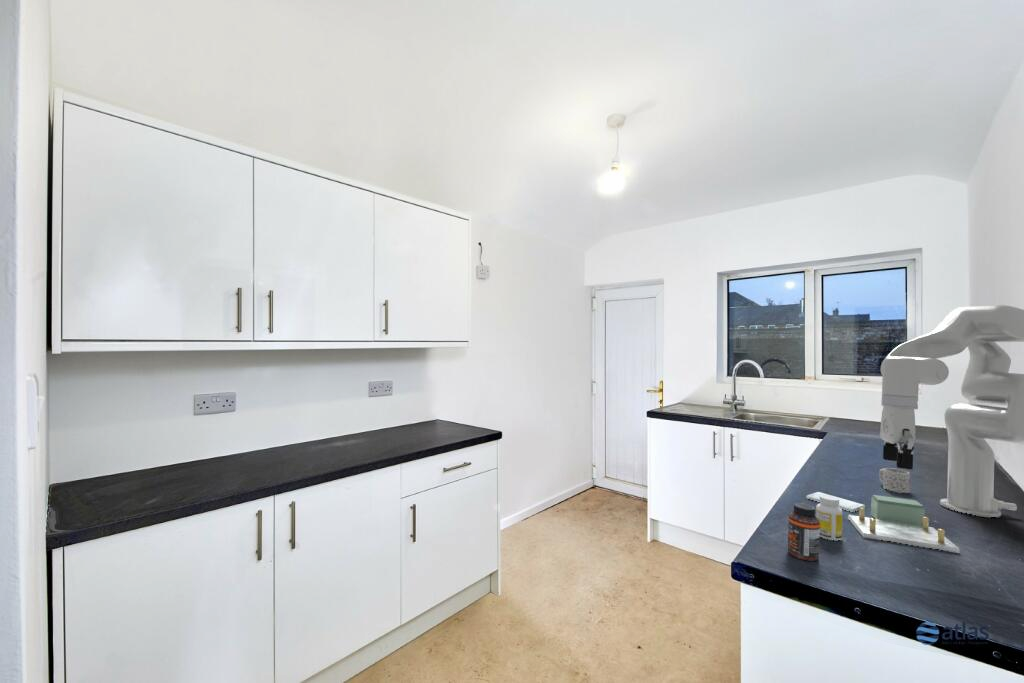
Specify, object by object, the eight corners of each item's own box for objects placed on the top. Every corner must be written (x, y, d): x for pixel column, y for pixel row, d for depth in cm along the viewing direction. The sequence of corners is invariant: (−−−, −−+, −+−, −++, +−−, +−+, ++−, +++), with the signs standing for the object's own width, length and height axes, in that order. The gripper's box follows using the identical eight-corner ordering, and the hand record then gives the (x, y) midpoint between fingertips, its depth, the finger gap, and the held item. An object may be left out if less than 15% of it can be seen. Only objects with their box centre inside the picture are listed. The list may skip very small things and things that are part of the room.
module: (916, 522, 121) (916, 500, 121) (924, 529, 116) (924, 506, 116) (870, 515, 125) (871, 494, 125) (876, 521, 120) (877, 499, 120)
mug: (914, 494, 144) (915, 474, 144) (894, 493, 144) (894, 473, 144) (889, 484, 154) (889, 465, 154) (870, 483, 154) (870, 464, 154)
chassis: (932, 531, 114) (933, 515, 114) (959, 553, 102) (959, 535, 102) (848, 518, 121) (848, 503, 121) (863, 537, 109) (864, 520, 109)
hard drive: (805, 495, 137) (852, 508, 126) (818, 491, 141) (865, 504, 130) (805, 500, 137) (852, 514, 126) (818, 496, 141) (865, 509, 130)
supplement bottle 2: (837, 534, 111) (838, 495, 111) (845, 543, 106) (846, 502, 106) (812, 530, 113) (813, 492, 113) (819, 539, 108) (820, 499, 108)
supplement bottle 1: (781, 549, 102) (782, 500, 102) (805, 549, 102) (806, 500, 102) (800, 562, 96) (801, 510, 96) (825, 562, 96) (827, 510, 96)
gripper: (871, 397, 130) (869, 455, 130) (894, 404, 114) (892, 469, 114) (903, 400, 127) (901, 459, 127) (932, 406, 111) (929, 474, 111)
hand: (897, 464), depth 120 cm, fingers open, 9 cm apart
